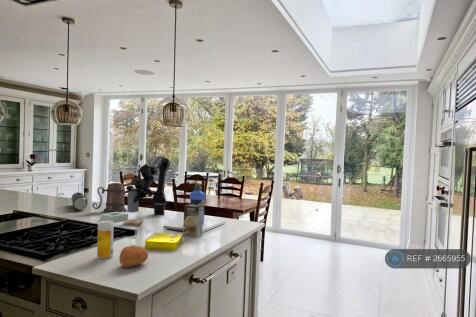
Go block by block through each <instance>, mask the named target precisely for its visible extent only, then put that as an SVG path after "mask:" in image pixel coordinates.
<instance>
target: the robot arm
mask: <svg viewBox="0 0 476 317" xmlns="http://www.w3.org/2000/svg"><path fill="white" fill-rule="evenodd" d="M170 166H171V160H170V159H168V158H166V157H165V156H161V155H160V156H159V155H158V156H156V158H155V159H154V161H153V162H152V163H151V164H146V163H144V165H141V167H139V172H140V174H141V176H142V178H135V177H134V178H132V179H131V181H130V184H131V185H127V186H126V187H125V189H126V191H127V192H131V191H137V192H138V195H137V196H136V198H135V199H134V201H133V202H134V203H135V202H137V201H141V200H142V199H145V198H147V197H151V199H152V206H154V207H153V213H154V215H155V216H159V215H160V216H164V215H165V207H166V206H167V204H168V202H167V201H168V200H167V199H166V194H165V192H164V190H165V183H166V177H167V176H166V175H167V172H168V171H169V170H170ZM158 172H159V173H158ZM157 174H158V179H157V186H156V187H157V188H156V191H155V192H153V191H152V190H151V189H150V188H151V186H150V185H151V184H152V182H154V183H155V177H154V176H156V175H157ZM133 185H134V186H133Z"/></svg>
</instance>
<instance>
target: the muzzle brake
mask: <svg viewBox="0 0 476 317" xmlns="http://www.w3.org/2000/svg"><path fill="white" fill-rule="evenodd" d="M71 202H72V206H73V208H74V209H75V210H78V211H82V210H85V209H86V207H87V206H88V200H87V198H86V197H85V195H84V194H83V193H82V192H74V193H73V194H72V196H71Z"/></svg>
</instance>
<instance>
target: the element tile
mask: <svg viewBox="0 0 476 317" xmlns="http://www.w3.org/2000/svg"><path fill="white" fill-rule="evenodd" d="M182 244H183V233H182V234H181V233H166V232H164V233H163V232H154V233H152V234H150V236H149V237H147V238H146V239H145V240H144V248H145V249H146V250H147V251H148V250H151V251H172V252H174V251H175V252H176V251H178V249H179V248H180V246H181V245H182Z"/></svg>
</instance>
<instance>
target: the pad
mask: <svg viewBox="0 0 476 317" xmlns="http://www.w3.org/2000/svg"><path fill="white" fill-rule="evenodd" d="M143 222H144V220H143V219H128V220H124V222H123V223H122V225H123V226H131V227H141V226H142V225H143Z"/></svg>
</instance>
